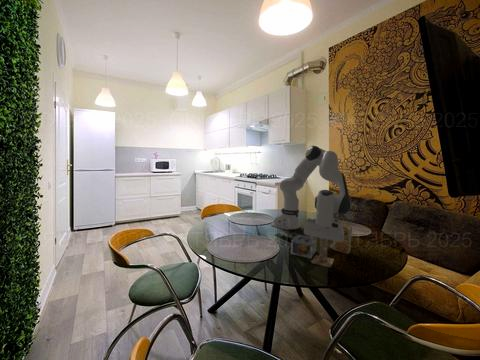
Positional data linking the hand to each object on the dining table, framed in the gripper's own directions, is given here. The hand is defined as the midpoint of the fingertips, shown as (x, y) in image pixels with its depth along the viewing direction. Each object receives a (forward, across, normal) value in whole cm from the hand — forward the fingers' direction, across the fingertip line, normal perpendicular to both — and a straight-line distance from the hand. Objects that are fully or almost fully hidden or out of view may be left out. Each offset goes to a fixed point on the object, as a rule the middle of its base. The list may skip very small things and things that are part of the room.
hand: (322, 245), depth 124 cm
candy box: (+9, +8, +20) cm, 23 cm away
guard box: (+9, -11, +6) cm, 16 cm away
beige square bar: (+8, +1, 0) cm, 8 cm away
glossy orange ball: (+8, -11, +6) cm, 15 cm away
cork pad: (+9, +1, 0) cm, 9 cm away
